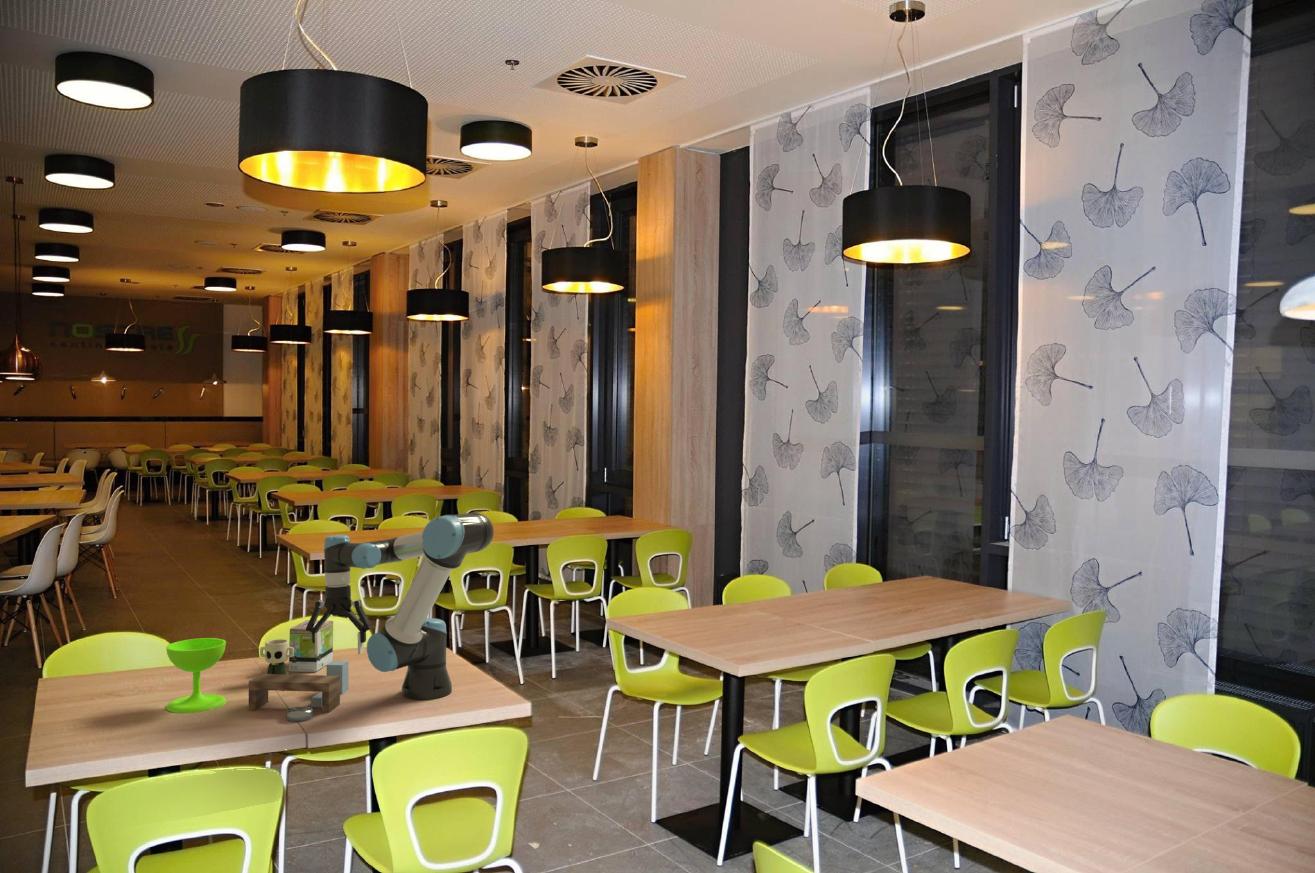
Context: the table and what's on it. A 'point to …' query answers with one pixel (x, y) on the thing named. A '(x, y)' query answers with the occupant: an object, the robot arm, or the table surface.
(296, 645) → the tea box
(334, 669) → the push stick
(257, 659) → the table surface
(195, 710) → the wineglass
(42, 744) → the table surface
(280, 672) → the character mug
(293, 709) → the token
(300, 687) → the shelf
